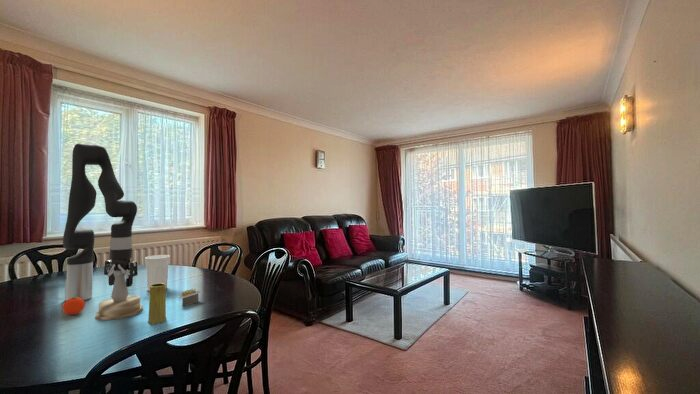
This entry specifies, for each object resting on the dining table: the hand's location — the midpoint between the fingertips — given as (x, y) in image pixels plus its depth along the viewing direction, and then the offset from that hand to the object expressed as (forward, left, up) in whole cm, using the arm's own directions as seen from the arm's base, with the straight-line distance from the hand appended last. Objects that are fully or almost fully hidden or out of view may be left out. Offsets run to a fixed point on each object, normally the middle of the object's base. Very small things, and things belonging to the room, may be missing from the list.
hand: (120, 285), depth 127 cm
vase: (+22, -4, -12) cm, 25 cm away
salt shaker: (0, 0, -6) cm, 7 cm away
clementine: (-17, -5, -12) cm, 21 cm away
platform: (+20, +16, -12) cm, 29 cm away
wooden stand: (0, 0, -11) cm, 11 cm away
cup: (-11, +31, -12) cm, 35 cm away
